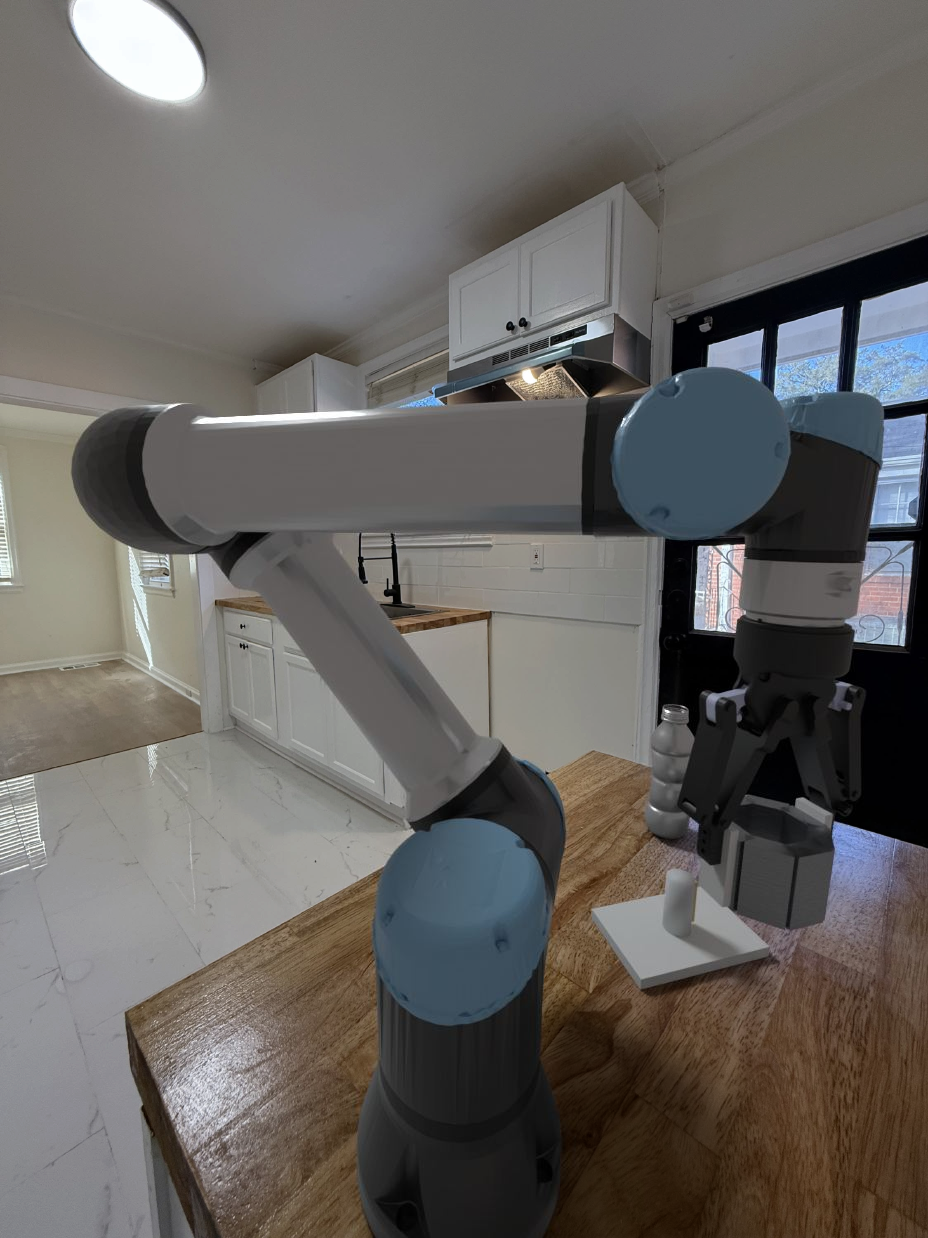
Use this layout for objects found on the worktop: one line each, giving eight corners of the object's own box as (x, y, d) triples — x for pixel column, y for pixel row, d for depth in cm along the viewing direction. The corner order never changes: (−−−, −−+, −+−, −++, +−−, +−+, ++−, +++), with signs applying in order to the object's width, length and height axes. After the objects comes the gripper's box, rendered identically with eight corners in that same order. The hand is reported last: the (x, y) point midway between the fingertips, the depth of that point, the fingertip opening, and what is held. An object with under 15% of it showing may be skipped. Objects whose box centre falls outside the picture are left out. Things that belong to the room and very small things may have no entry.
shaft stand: (640, 989, 51) (645, 924, 50) (591, 917, 61) (594, 861, 59) (768, 956, 55) (775, 895, 54) (703, 894, 65) (708, 840, 64)
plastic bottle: (638, 835, 77) (646, 710, 74) (650, 815, 83) (658, 698, 79) (683, 850, 74) (694, 720, 70) (692, 828, 79) (703, 706, 76)
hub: (760, 938, 37) (769, 863, 36) (682, 864, 45) (688, 802, 44) (849, 916, 39) (861, 845, 38) (760, 850, 47) (767, 790, 46)
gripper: (711, 632, 32) (680, 946, 36) (953, 620, 37) (904, 894, 41) (640, 613, 39) (621, 877, 43) (853, 606, 44) (818, 840, 48)
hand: (760, 885), depth 42 cm, fingers closed on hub, 8 cm apart
